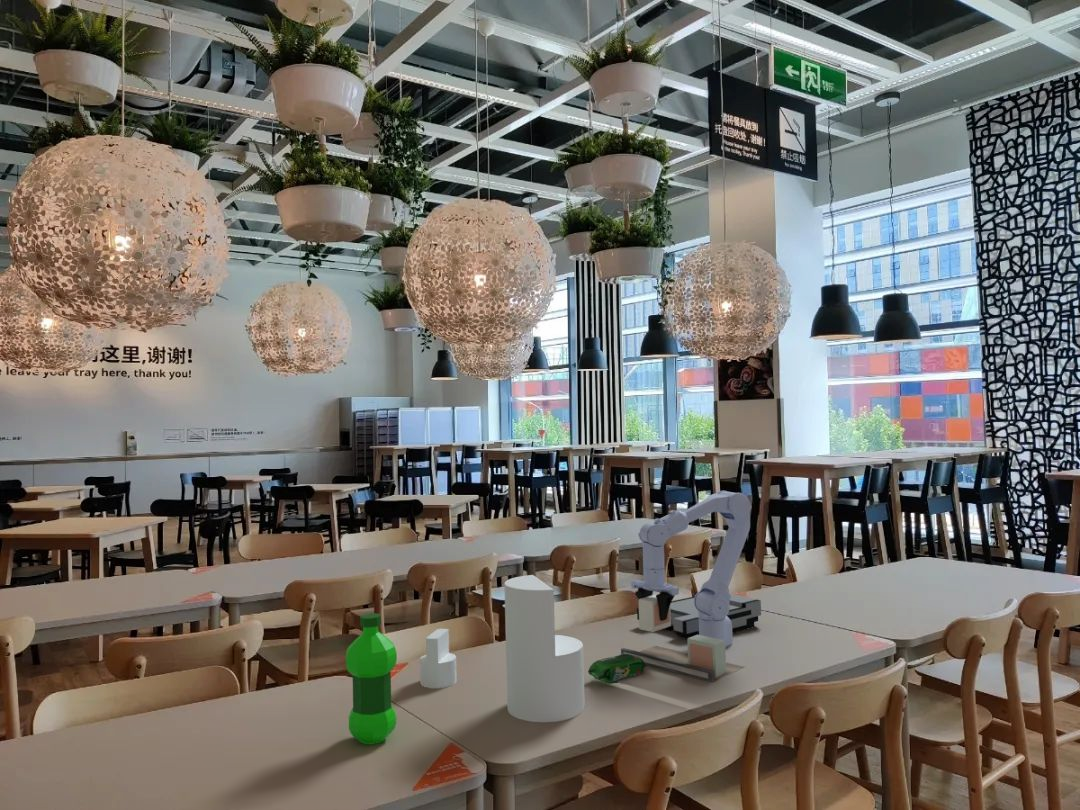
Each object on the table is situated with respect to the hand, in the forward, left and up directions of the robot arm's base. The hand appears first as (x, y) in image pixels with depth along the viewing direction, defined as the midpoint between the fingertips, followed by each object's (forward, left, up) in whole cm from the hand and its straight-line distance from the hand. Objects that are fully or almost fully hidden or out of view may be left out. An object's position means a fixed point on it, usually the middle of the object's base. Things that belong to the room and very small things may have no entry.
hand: (655, 618), depth 206 cm
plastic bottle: (+82, -10, -10) cm, 83 cm away
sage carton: (+5, +19, -9) cm, 22 cm away
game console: (-31, -7, -11) cm, 34 cm away
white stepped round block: (+46, +4, -10) cm, 47 cm away
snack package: (+21, +4, -11) cm, 24 cm away
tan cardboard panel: (+3, +10, -10) cm, 15 cm away
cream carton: (0, 0, -2) cm, 3 cm away
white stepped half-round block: (+52, -28, -10) cm, 60 cm away
